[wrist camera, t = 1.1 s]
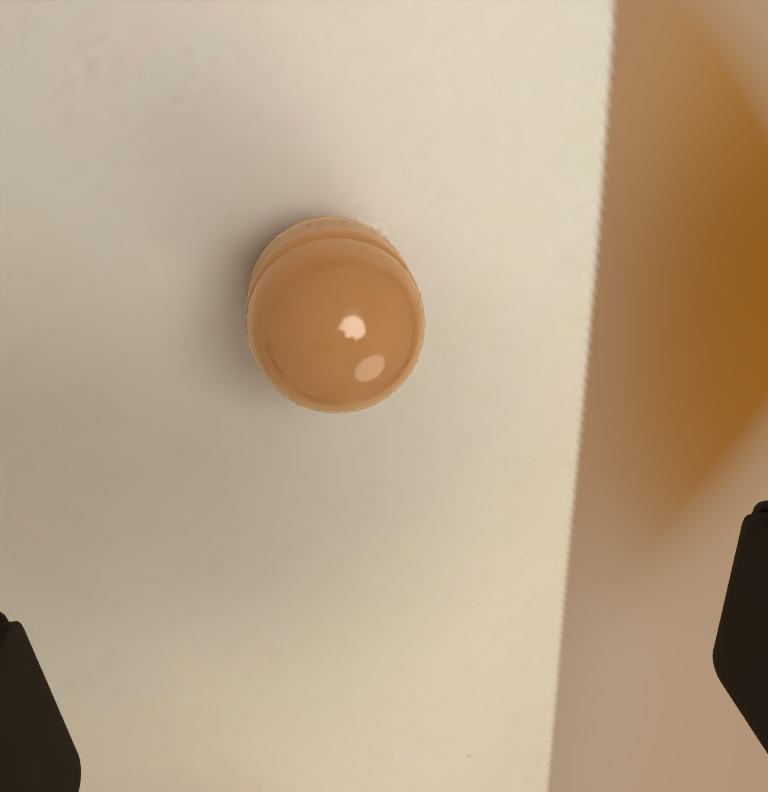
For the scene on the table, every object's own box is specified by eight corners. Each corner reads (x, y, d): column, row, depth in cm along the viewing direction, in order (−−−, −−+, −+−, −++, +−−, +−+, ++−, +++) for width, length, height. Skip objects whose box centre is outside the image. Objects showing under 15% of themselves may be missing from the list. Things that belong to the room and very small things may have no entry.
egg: (219, 241, 19) (204, 328, 15) (360, 168, 19) (394, 234, 14) (294, 364, 22) (302, 476, 17) (423, 302, 21) (470, 398, 16)
